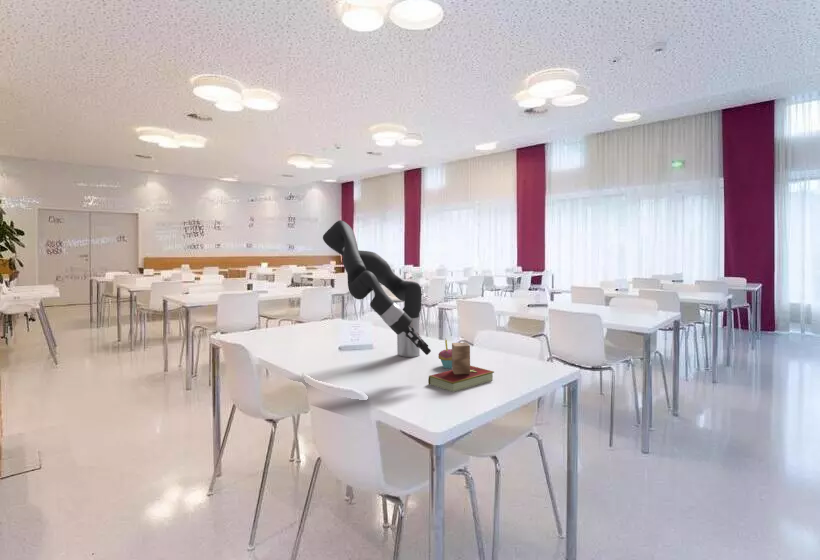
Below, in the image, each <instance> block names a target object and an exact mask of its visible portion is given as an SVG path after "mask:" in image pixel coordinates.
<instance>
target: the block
mask: <svg viewBox="0 0 820 560" xmlns="http://www.w3.org/2000/svg"><path fill="white" fill-rule="evenodd" d="M451 349H452V368H451V370H452V371H453V373H454V374H470V366H471V345H470V344H469V343H468V342H452V343H451Z"/></svg>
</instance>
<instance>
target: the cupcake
mask: <svg viewBox="0 0 820 560" xmlns="http://www.w3.org/2000/svg"><path fill="white" fill-rule="evenodd" d="M444 341H445V342H444V343H445V349H443V350H440V351H439V353H438V359H439V360H440V361H441V365H442V367H443V368H444V369H452V348H451V349H450V348H449V349H448V339H446V338H445V340H444Z"/></svg>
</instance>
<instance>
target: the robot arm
mask: <svg viewBox="0 0 820 560" xmlns="http://www.w3.org/2000/svg"><path fill="white" fill-rule="evenodd" d="M322 239H323V242H324V243H325V245H327V246H328V247H329V248H330V249H331V250H333V251H334V252H336V253H337V254H339V255H341V256H342V264H343V267H344V269H345V272H346V275H347V289H348V292H349V293H350V295H351V296H352V297H353V298H354V299H356V300H364V299H365V298H366V297H367V296H368V295H369V294H370V293H371V292H372V291H373V292H374V297H373V298H372V299H371V301H370V304H369V306H370V307H371V309H372V310H373V311H374V312H375V313H376V314H377V315H378V316H380V319H382V321H383V322H384V323H385V324H386V325H387V326H388V327H389V328H390V329H391V330H392V331H393V332H394V333H395V334H396V337H397V338H396V339H397V341H396V343H397V344H396V345H397V352H396V353H397V355H398V356H400V357H404V358H413V357H419V356H420V354H421V352H420V350H421V351H422V352H423V353H424V354H425V355H426V356H428V355H429V354H430V353H431V352H432V350H431V349H430V348H429V345H428V343H427V342H425V340H424V339H423V338H422V336H421V335H420V313H421V310H422V300H423V299H422V296H423V295H422V293H423V292H422V287H421V285H420V283H418V282H416V281H413V280H404V279H402V278H401V277H399V276H398V275H397V274H395V273H394V272H393V270H392V269H391V266H390V264H389V263H388V261H386V260H385V259H384V258H383V257H382V256H380V255H379V254H378V253H376V252H373V251H369V250H359V249H358V242H357V240H356V239H357V238H356V235H355V232H354V230H353V228H352V227H351V226H350V225H349V224H348V223H347V222H346V221H344V220H337V221H336V222H335V223H333V224H332V225H331V226H330V227H329V228H328V230H327V231H325V233H324V234H323V236H322ZM382 286H384V287H385V288H386V289H387V290H388V291H390V293H392V295H394V296H395V297H396V298H397V299H398V300H399V301H402V302H403V303H404V304H403V308H401V306H399V304H397V303H395V301H393V300H392V298H390V297H389V295H388V294H387V293H386V291H385V290H384V289H383V287H382Z"/></svg>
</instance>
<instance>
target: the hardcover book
mask: <svg viewBox="0 0 820 560" xmlns="http://www.w3.org/2000/svg"><path fill="white" fill-rule="evenodd" d="M493 374H495V371H493V370H490V369H487V368H486V369H485V368H482V367H477V366H474V365H470V374H454V373H453V371H452V369H450V370H447V371H441V372H439V373H434V374H430V375H428V385H430V384H431V385H430V386H433V385H434V386H433V387H436V386H437V388H439V387H440V389H443V390H445V391H449V392H452V393H454V392H457V391H460V390H464V389H468V388H470V387H471V388H472V387H474V386H477V385H481V384H484V383H489V382H491V381H493V377H494V376H493Z"/></svg>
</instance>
